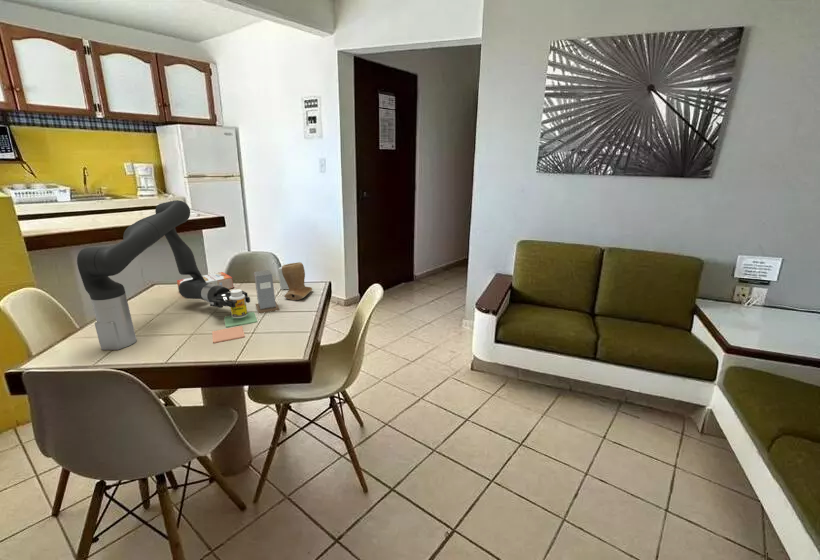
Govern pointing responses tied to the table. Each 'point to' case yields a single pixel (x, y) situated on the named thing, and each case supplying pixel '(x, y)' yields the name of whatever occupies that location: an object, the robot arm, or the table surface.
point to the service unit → (265, 292)
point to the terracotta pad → (228, 334)
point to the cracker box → (215, 280)
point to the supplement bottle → (238, 304)
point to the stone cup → (295, 281)
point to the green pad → (240, 320)
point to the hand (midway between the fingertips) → (241, 302)
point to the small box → (282, 280)
